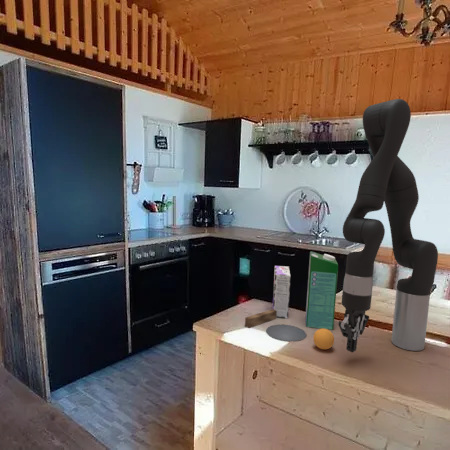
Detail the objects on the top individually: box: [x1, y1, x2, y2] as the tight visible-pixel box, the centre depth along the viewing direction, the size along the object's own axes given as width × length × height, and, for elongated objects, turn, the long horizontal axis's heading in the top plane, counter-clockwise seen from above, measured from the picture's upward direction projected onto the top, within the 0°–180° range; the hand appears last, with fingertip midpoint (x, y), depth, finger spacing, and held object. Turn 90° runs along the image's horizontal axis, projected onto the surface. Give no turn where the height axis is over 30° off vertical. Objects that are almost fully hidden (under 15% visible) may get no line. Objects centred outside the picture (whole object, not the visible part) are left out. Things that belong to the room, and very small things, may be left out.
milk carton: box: [305, 251, 339, 331], centre depth 125 cm, size 9×9×25 cm
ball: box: [313, 328, 335, 350], centre depth 107 cm, size 6×6×6 cm
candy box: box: [272, 265, 291, 319], centre depth 136 cm, size 14×6×16 cm, turn 172°
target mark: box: [265, 323, 307, 342], centre depth 118 cm, size 13×13×1 cm
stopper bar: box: [244, 308, 277, 329], centre depth 126 cm, size 14×2×3 cm, turn 132°
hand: (351, 350), depth 100 cm, fingers closed
